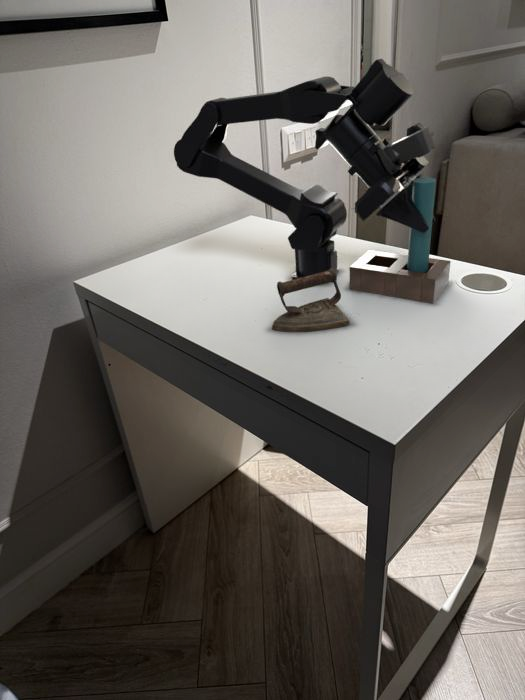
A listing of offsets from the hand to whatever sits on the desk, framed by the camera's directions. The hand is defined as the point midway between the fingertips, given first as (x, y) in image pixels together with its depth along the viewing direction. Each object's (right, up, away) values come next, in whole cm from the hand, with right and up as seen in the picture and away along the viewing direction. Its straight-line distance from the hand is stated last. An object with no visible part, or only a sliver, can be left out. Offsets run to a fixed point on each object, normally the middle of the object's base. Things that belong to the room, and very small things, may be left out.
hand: (429, 227), depth 78 cm
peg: (-1, -6, +4) cm, 7 cm away
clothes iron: (-19, -15, 0) cm, 24 cm away
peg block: (-3, -8, +8) cm, 11 cm away
